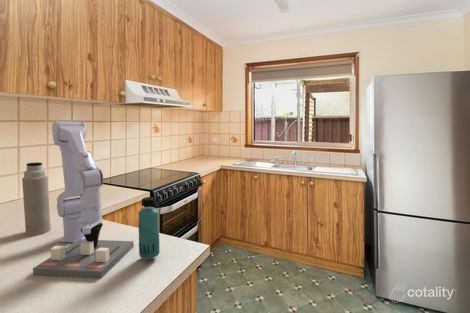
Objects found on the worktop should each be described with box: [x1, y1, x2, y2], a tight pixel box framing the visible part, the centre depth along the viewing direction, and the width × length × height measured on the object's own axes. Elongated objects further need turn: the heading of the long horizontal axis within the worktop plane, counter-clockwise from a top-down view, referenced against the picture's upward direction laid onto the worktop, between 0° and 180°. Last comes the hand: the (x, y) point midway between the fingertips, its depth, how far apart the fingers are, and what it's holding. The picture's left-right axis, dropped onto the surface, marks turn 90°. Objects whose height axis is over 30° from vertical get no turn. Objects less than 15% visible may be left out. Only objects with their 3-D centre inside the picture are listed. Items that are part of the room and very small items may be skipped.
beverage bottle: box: [137, 196, 160, 260], centre depth 83 cm, size 6×7×20 cm
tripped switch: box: [80, 241, 94, 255], centre depth 82 cm, size 2×3×4 cm, turn 86°
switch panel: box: [32, 238, 135, 279], centre depth 83 cm, size 20×20×6 cm
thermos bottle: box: [21, 161, 52, 236], centre depth 104 cm, size 8×8×28 cm
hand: (93, 247), depth 85 cm, fingers closed
